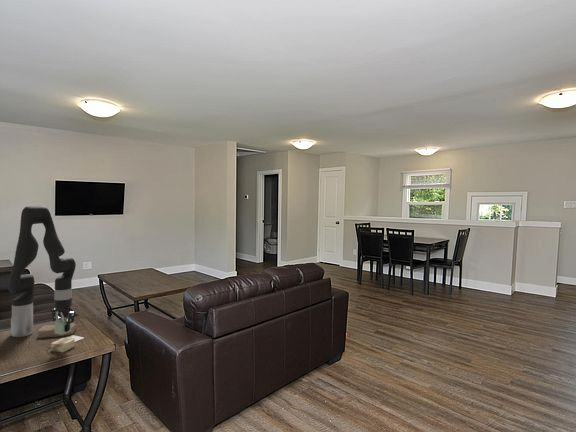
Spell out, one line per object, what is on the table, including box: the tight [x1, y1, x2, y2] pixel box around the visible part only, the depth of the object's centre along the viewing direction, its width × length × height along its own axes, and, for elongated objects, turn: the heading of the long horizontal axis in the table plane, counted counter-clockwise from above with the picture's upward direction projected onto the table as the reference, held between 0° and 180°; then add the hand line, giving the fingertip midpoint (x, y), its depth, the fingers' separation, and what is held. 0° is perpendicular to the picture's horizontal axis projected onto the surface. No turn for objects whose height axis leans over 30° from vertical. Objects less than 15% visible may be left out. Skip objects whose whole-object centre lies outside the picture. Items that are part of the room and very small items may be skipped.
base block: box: [50, 337, 76, 353], centre depth 170 cm, size 7×7×4 cm
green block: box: [54, 319, 71, 335], centre depth 169 cm, size 5×5×6 cm
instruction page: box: [65, 334, 85, 343], centre depth 180 cm, size 9×9×1 cm
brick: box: [37, 322, 77, 339], centre depth 188 cm, size 16×8×5 cm, turn 109°
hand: (63, 330), depth 169 cm, fingers closed on green block, 5 cm apart
